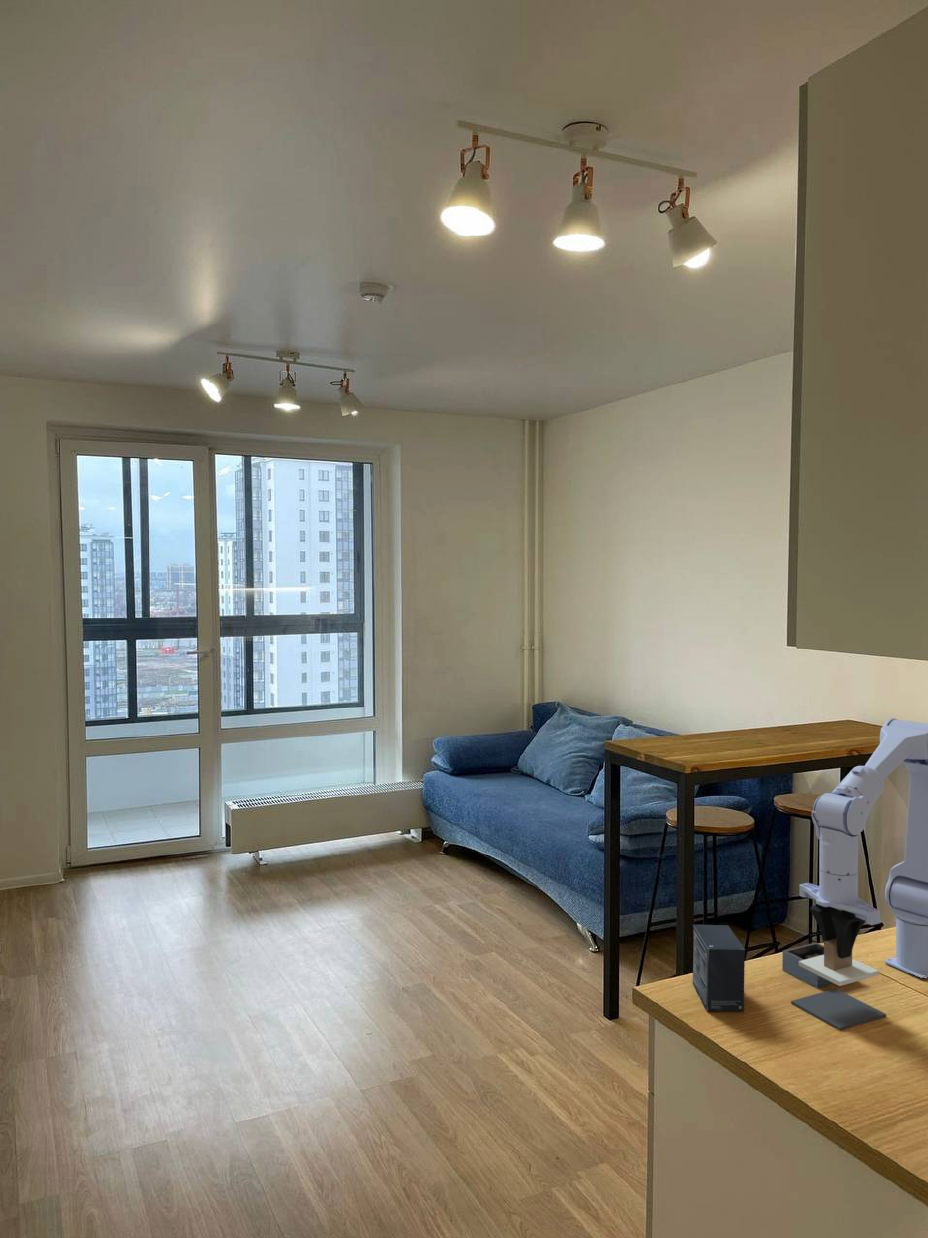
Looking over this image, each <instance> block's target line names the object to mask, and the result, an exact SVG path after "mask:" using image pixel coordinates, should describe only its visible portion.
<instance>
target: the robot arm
mask: <svg viewBox="0 0 928 1238" xmlns="http://www.w3.org/2000/svg"><path fill="white" fill-rule="evenodd" d="M879 733H880V734H879V744H878V746H877V747H876V748H875V750H874V751H873V753H872V754H871V756H870V757H869V759H868V760H867V761H866V763H865V765H857V766H855V767H853V768H852V769H851V770H850V771H849V773H847V775H846V776H845V777H844V778H843V779H842V780H841V781H840V782H839V783H838V785H837V786H836V787H835V788H834V790H832V791H831V792H827V793H826V792H825V793H823V794H821V795H819V796H817V798H816V799H815V801H814V803H813V809H812V811H811V819H812V823H813V825H814V826H815V836H816V838H817V839H818V840H819V867H818V868H819V871H818V872H819V882H818V883H819V885H817V884H813V883H810V882H806V883H802V884H801V883H800V884H799V897H801V898H808V899H812V900H814V901H816V902H815V905H812V906H811V907H810V912H811V914H812V916H813V917H814V919H815V922H816V924H817V926H818V928H819V932H820V936H821V938H822V942H823V944H824V941H828V940H832V939H836V938H837V953H838V957H839V958H841V959H843V958H847V957H850V956H851V953H852V954H853V949H854V945H855V942H856V939H857V937H858V934H859V933H860V931H861V929H862V928H863V927H864V925H865V923H866V924H868V925H870V926H874V925H878V924H881V921H882V920H881V910H879V909H877V908H874V907H873V906H872V905H870V904H868V903H867V902H866V901H864V900H863V899H861V898H860V897H859V835H860V833H861V832H863V831H864V829H865V827H866V824H867V819H868V817H869V815H870V812H871V811H870V808H871V807H872V806H873V805H874V803H875V802H876V801H877V800H878V798H879V797H880V796H881V795H882V794H883V793H884V791H885V789H886V786H885V785H886V784H885V782H884V780H885V779H886V778H887V777H889V775H890V774H891V773H893V771H894V770H896V768H898V767H899V766H900V765H901V764H903V765H904V767H905V768H906V770H908V772H909V774H910V776H909V790H908V803H907V804H908V805H907V815H906V816H907V817H906V831H905V833H906V834H905V844H904V846H905V847H904V858H903V859H904V860H903V861H901V862H899V863H897V864H895V865H893V866H892V867H891V868H890V870H889V876H888V879H887V882H886V885H885V890H884V899H885V902H886V904H887V906H888V907H889V908H890V909H891V910H892V912H891V913H892V915H893V916H896V920H895V921H896V922H895V933H896V934H895V957H889V958H886V959H884V963H885V964H886V965H889V966H891V967H894V968H896V969H898V970H900V971H903V972H905V973H907V974H909V973H911V974H913V975H915V976H914V977H916V976H918V977H921V978H925V977H928V723H927V722H919V721H912V720H911V721H910V720H901V719H897V718H893V717H891V718H888V719H887V720H886V721H885V723H884V724H883V726H881V728H880V732H879ZM911 974H910V975H911ZM913 975H912V976H913ZM923 975H925V976H923ZM918 977H917V978H918Z"/></svg>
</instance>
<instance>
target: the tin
mask: <svg viewBox="0 0 928 1238" xmlns="http://www.w3.org/2000/svg"><path fill="white" fill-rule="evenodd" d="M820 955H824V944H821V943H818V942H813V943H808V944H805V945H800V946H796V947H792V948H788V949H784V950H782V964H781V967H782V968H781V969H782V971H783V972H784V973H787V974H789V975H791V976H792V977H795V978H796V979H799V980H800V981H802V982H803V983H804V982H805V983H806V984H808V985H810V986H813V987H814V988H816V989H820V988H823V987H827V986H831V985H832V986H833V985H834V983H832V982H830V981H828V980H826V979H824V978H822V977H820V976H818V975H816V974H814V973H812V972H810V971H808V970H807V969H805V968H803V967H801V966H799V961H801V960H805V959H809V958H813V957H817V956H820Z"/></svg>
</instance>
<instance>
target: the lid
mask: <svg viewBox="0 0 928 1238" xmlns="http://www.w3.org/2000/svg"><path fill="white" fill-rule="evenodd" d="M823 946H824V955H820V956H817V957H813V958H809V959H805V960H801V961H799V966H801V967H803V968H805V969H807V970H808V971H810V972H812V973H814V974H816V975H818V976H820V977H822V978H824V979H826V980H828V981H830V982H832V983H834V984H835V985H837V986H839V987H841V986H845V985H848V984H851V983H856V982H859V981H862V980H866V979H870V978H873V977H877V976H879V975H880V974H879V969H876V968H874V967H872V966H870V965H867V964H865V963H862V962H861V961H858V960H856V959H854V958H853V952H852V953H851V956H850V957H847V958H843V959H841V958H839V957H838V953H837V938H836V939H832V940H828V941H824V943H823ZM834 984H833V985H834Z"/></svg>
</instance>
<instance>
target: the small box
mask: <svg viewBox="0 0 928 1238" xmlns="http://www.w3.org/2000/svg"><path fill="white" fill-rule="evenodd" d="M692 930H693V931H692V932H693V948H692V949H693V954H692V955H693V956H692V957H693V961H692V964H693V965H692V985H693V987H694V989H695V991H696V993H697V995H698V997H699V999H700V1002H701V1003H702V1005H703V1007H704V1010H705V1011H706V1012H731V1013H733V1012H736V1013H737V1012H741V1013H742V1012H745V967H746V966H745V965H746V964H745V963H746V962H745V957H746V955H745V954H746V948H744V945H742V943H741V942H740V940H739V939H738V937H737V936H736V934H735V933H734V932H733V930H732V929H731V927H730V926H729V925H728V924H727V925H724V924H721V925H720V924H719V925H718V924H717V925H716V924H693V926H692Z"/></svg>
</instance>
